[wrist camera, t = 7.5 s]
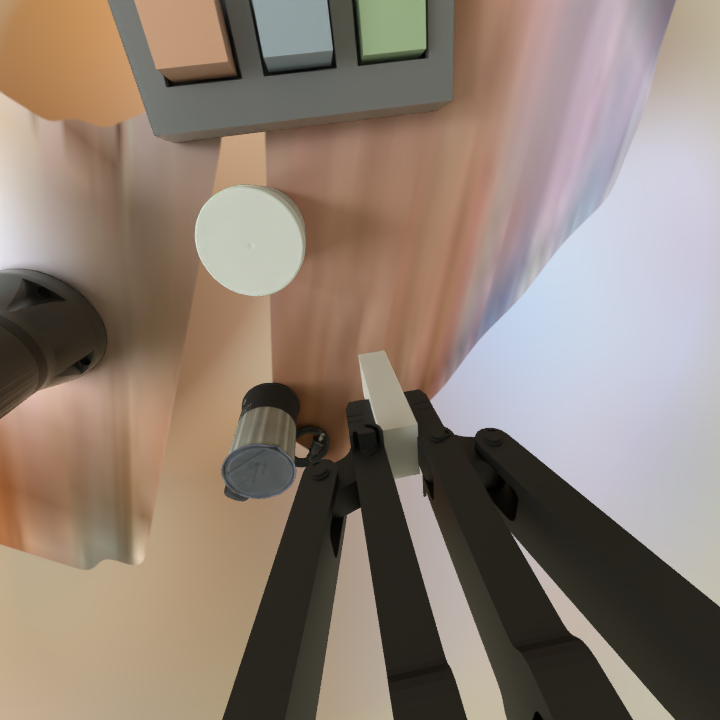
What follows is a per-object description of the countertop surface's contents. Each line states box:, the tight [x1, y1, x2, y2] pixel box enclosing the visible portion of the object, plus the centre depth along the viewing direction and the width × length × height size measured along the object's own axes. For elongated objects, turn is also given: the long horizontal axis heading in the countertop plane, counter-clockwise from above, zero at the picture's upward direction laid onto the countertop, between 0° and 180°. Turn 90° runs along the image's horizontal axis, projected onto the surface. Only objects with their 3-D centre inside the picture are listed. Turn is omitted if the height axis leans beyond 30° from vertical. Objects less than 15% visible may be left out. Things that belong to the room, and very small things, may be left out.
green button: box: [352, 0, 426, 66], centre depth 31 cm, size 6×6×4 cm
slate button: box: [252, 0, 333, 72], centre depth 28 cm, size 6×6×4 cm
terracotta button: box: [134, 0, 238, 83], centre depth 28 cm, size 6×6×4 cm
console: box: [108, 0, 454, 143], centre depth 31 cm, size 30×14×5 cm, turn 96°
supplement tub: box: [195, 185, 306, 296], centre depth 35 cm, size 10×10×15 cm
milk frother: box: [221, 383, 329, 501], centre depth 49 cm, size 14×16×15 cm
